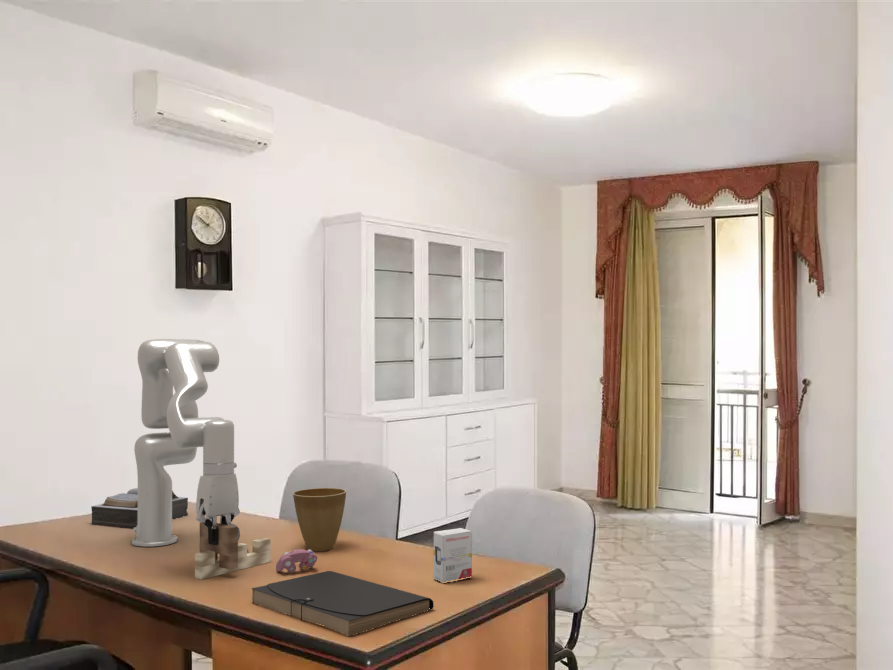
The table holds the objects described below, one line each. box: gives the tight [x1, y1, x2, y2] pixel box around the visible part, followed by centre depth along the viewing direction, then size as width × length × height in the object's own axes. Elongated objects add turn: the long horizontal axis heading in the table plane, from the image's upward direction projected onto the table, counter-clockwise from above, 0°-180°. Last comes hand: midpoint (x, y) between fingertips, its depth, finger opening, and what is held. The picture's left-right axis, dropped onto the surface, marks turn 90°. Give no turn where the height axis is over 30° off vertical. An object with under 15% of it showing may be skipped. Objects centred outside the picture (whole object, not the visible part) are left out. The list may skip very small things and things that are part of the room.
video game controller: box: [275, 548, 318, 574], centre depth 214 cm, size 10×5×7 cm, turn 118°
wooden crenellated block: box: [194, 537, 272, 580], centre depth 216 cm, size 22×2×6 cm, turn 143°
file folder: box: [251, 570, 434, 637], centre depth 185 cm, size 33×4×24 cm
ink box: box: [432, 527, 473, 582], centre depth 207 cm, size 9×5×12 cm, turn 123°
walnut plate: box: [198, 522, 239, 570], centre depth 212 cm, size 12×2×10 cm, turn 53°
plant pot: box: [292, 487, 347, 552], centre depth 240 cm, size 15×15×16 cm
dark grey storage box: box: [90, 487, 189, 530], centre depth 280 cm, size 23×27×10 cm
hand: (218, 542), depth 212 cm, fingers closed on walnut plate, 2 cm apart
